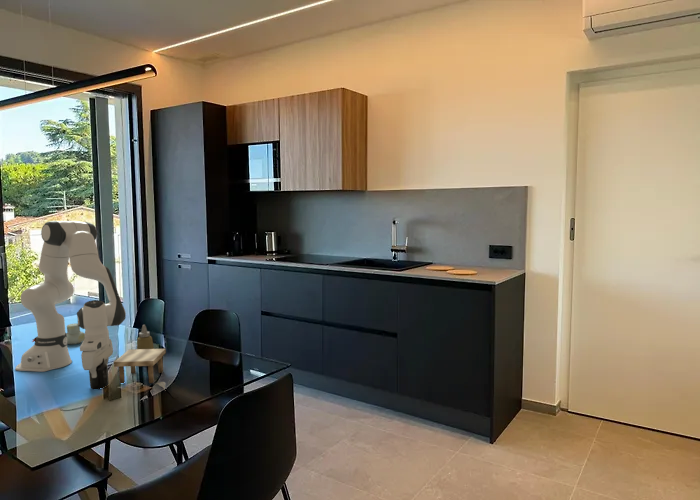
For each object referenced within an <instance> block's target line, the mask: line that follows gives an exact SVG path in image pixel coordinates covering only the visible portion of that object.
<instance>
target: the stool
mask: <svg viewBox="0 0 700 500" xmlns="http://www.w3.org/2000/svg"><path fill="white" fill-rule="evenodd" d="M166 354H167V351H166V348H154V349H137V348H135V349H134V348H133V349H130V348H129V349H128V350H126V351H125V352H124V353H123V354H121V356H119V357H118V358H117V359H116V360H114V362H113V366H114V368H115V367H117V368H118V378H119V384H120V383H124V382H125V383H126V376H125V367H129V368H130V374H136V373H135V372H137V370H136V369H137V368H136V367H147V373H148V377H147V378H148V384H155V383H154V382H155V378H154V377H155V376H154V375H155V374H154V366H155V364H157V373H159V374H160V373H162V374H163V373H164V366H163V365H164V364H163V363H164V362H163V360H164V359H163V357H164V355H166ZM125 383H124V384H125Z"/></svg>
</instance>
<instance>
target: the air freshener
mask: <svg viewBox="0 0 700 500" xmlns="http://www.w3.org/2000/svg"><path fill="white" fill-rule="evenodd" d="M66 333H67V345H79V344H82V343H83V341H84V339H85V332H83V331H81V327H79V326H78V322H76V323H74V322H73V323H70V324H67V325H66Z"/></svg>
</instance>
